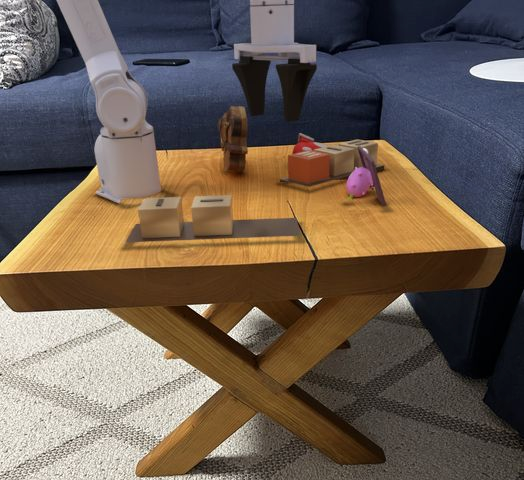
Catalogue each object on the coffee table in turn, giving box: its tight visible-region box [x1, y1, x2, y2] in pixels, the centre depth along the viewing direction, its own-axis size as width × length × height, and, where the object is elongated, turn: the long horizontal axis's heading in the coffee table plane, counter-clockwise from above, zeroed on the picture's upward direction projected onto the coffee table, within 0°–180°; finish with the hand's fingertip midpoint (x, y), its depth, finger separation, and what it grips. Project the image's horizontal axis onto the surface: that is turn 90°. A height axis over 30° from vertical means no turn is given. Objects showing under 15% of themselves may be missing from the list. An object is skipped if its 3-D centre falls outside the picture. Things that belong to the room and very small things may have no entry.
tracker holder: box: [291, 132, 329, 154], centre depth 95 cm, size 12×4×10 cm
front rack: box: [125, 194, 301, 243], centre depth 65 cm, size 20×6×4 cm, turn 91°
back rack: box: [279, 139, 385, 188], centre depth 86 cm, size 17×6×4 cm, turn 131°
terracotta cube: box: [287, 150, 330, 183], centre depth 83 cm, size 4×4×4 cm
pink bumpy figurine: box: [345, 146, 387, 207], centre depth 74 cm, size 7×5×9 cm
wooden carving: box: [217, 105, 249, 174], centre depth 91 cm, size 16×5×10 cm, turn 13°
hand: (274, 117), depth 79 cm, fingers open, 7 cm apart
